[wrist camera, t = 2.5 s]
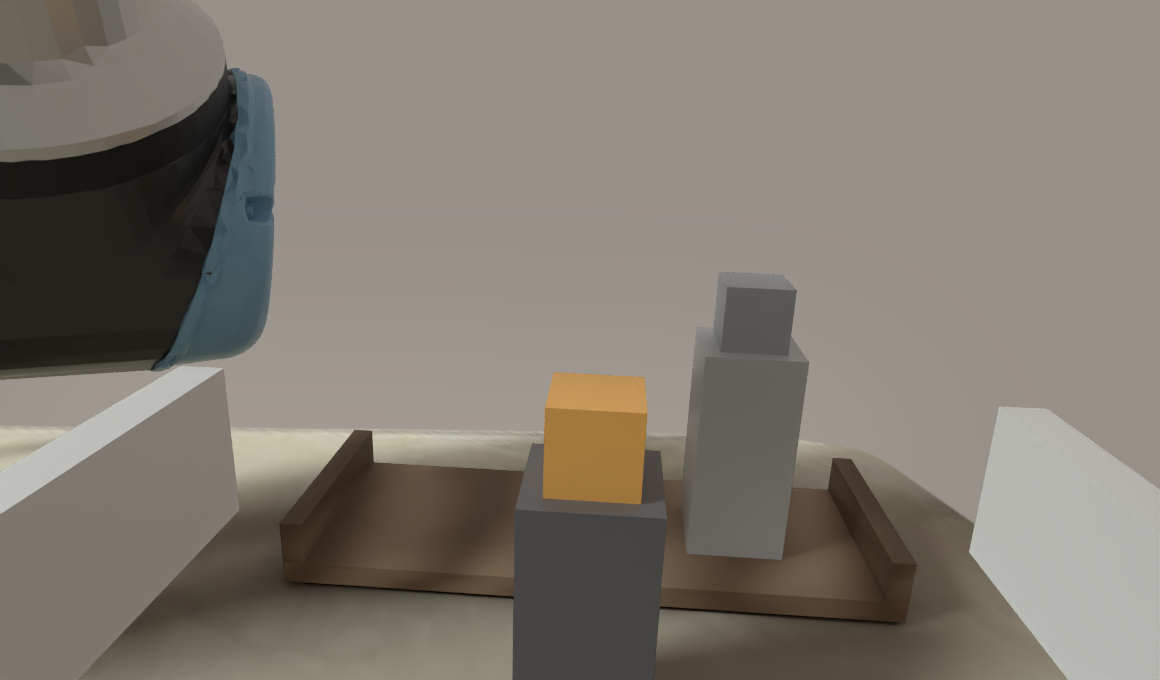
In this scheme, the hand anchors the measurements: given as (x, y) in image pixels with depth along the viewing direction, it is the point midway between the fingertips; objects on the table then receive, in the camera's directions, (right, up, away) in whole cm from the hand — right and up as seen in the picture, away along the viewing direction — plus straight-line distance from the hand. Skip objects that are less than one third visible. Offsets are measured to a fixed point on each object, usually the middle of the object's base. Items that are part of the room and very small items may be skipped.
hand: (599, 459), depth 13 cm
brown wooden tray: (0, -8, +26) cm, 27 cm away
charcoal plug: (0, -12, +15) cm, 19 cm away
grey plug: (+7, -8, +25) cm, 28 cm away
